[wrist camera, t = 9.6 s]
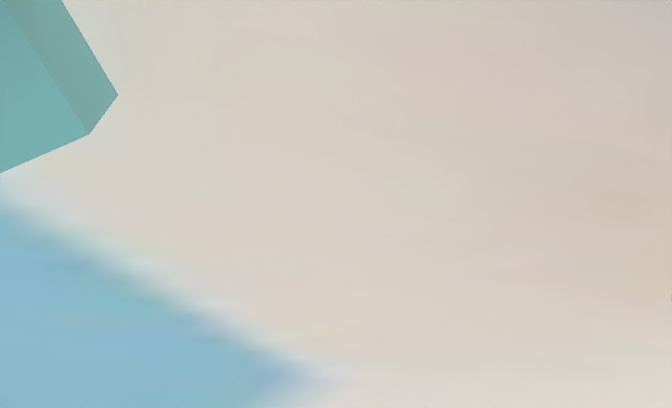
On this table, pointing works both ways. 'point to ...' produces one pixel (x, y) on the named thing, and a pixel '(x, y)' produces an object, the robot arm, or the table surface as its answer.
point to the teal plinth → (45, 81)
